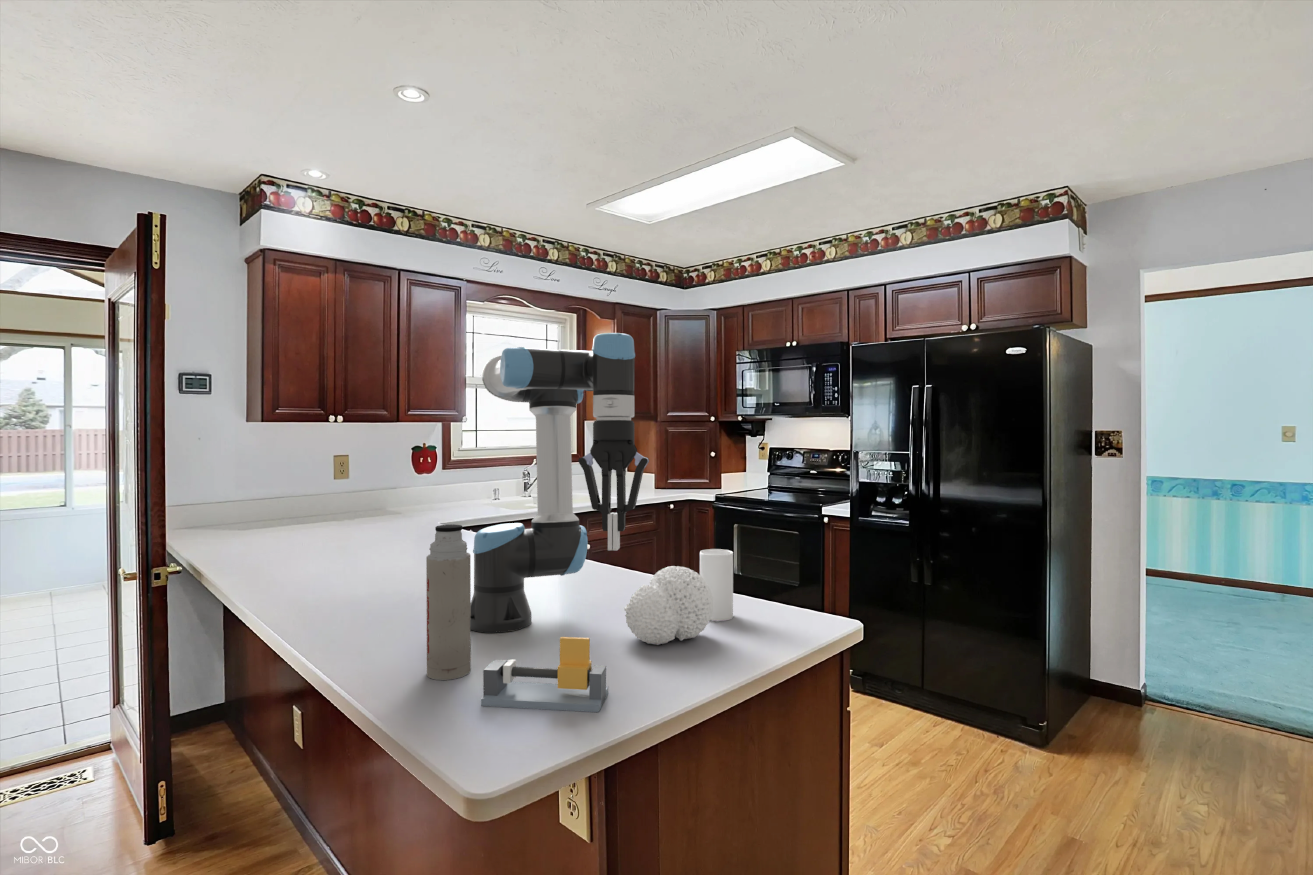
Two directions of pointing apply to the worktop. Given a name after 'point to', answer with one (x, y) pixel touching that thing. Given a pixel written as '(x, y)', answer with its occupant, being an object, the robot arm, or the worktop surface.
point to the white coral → (670, 606)
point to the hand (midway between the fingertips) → (613, 548)
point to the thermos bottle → (448, 605)
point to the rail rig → (540, 689)
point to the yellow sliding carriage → (574, 663)
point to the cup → (719, 581)
